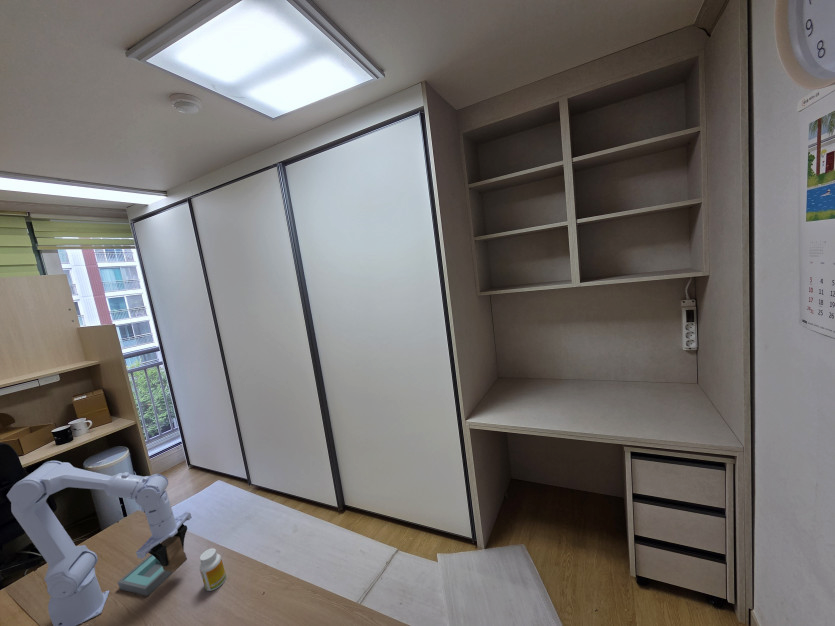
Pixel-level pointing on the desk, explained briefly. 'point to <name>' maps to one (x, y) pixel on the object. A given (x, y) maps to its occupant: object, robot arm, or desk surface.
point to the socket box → (145, 577)
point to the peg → (173, 553)
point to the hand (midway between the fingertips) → (172, 557)
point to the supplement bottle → (212, 569)
